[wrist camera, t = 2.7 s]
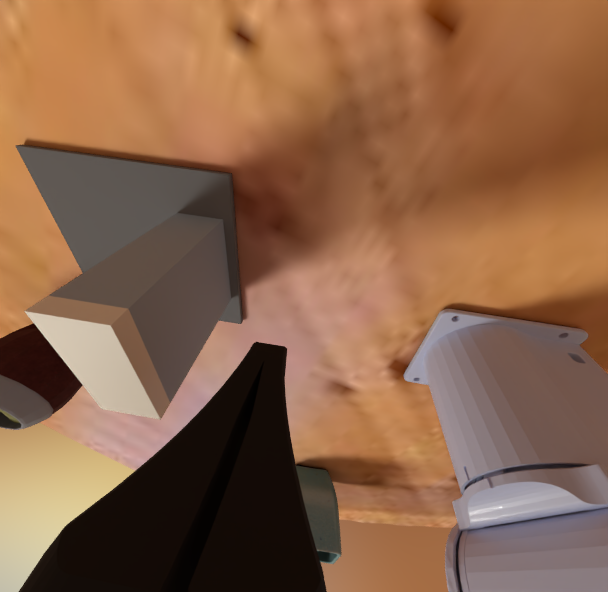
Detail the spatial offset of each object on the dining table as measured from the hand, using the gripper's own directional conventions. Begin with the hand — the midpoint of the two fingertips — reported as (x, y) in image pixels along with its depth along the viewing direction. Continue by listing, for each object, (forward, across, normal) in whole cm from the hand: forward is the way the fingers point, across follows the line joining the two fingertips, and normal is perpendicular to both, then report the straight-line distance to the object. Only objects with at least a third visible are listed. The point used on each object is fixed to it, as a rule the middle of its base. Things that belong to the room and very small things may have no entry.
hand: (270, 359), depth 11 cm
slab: (+7, +6, 0) cm, 9 cm away
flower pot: (+8, -5, +36) cm, 37 cm away
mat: (+7, +10, 0) cm, 12 cm away
